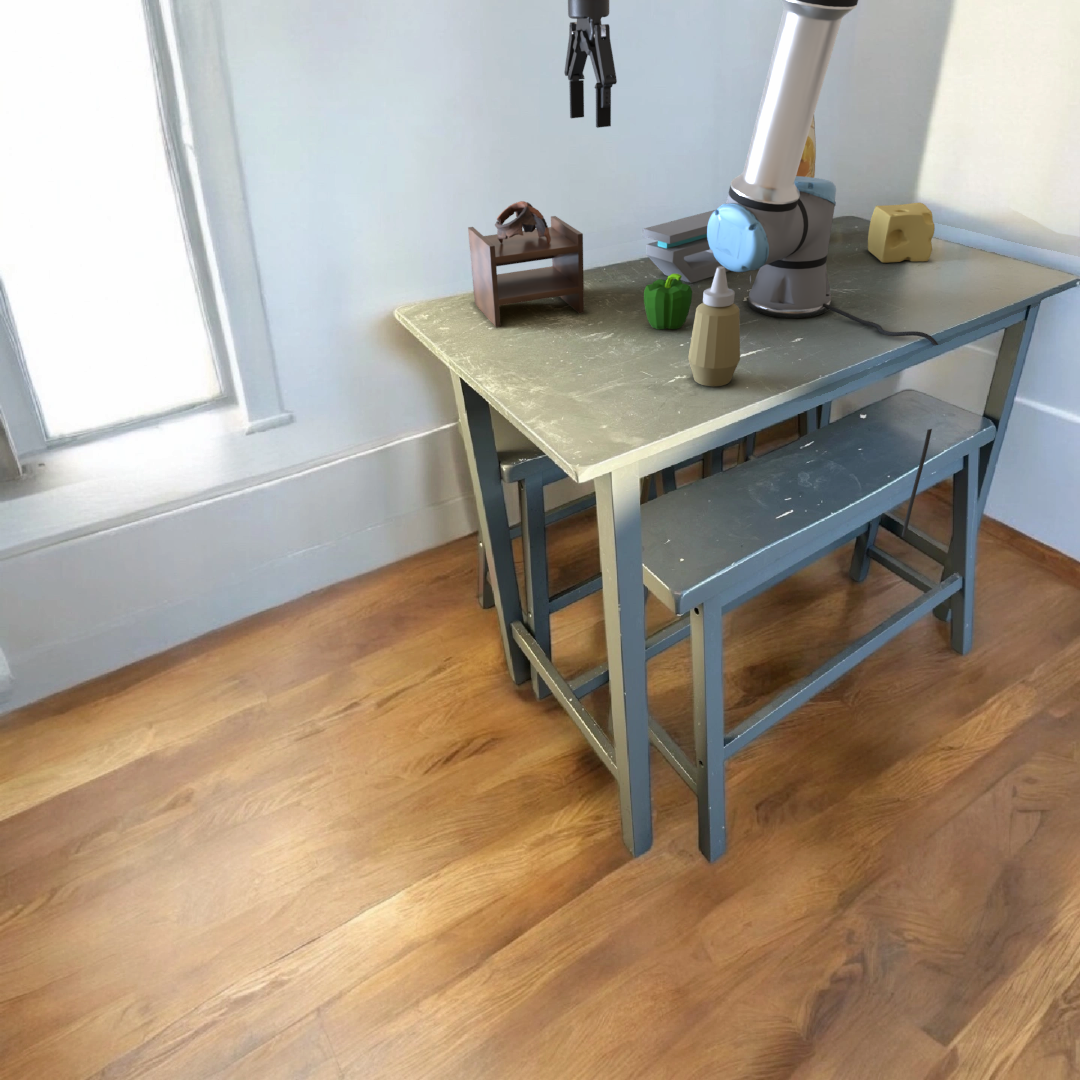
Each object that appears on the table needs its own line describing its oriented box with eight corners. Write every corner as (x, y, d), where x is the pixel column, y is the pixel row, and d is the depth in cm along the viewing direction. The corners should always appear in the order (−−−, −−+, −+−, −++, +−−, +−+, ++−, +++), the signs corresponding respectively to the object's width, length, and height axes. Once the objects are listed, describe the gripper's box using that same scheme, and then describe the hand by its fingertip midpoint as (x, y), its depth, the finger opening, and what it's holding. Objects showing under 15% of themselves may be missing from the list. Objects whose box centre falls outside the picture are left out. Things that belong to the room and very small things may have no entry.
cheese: (929, 262, 182) (940, 213, 177) (879, 264, 183) (887, 215, 177) (912, 248, 191) (922, 201, 185) (864, 250, 191) (872, 203, 186)
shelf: (584, 312, 166) (582, 233, 157) (495, 327, 161) (489, 246, 153) (557, 290, 177) (555, 215, 169) (474, 303, 173) (467, 227, 165)
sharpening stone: (723, 257, 192) (727, 206, 186) (750, 264, 186) (755, 212, 180) (641, 281, 180) (642, 228, 174) (667, 290, 174) (670, 235, 168)
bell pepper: (635, 323, 160) (636, 269, 154) (673, 315, 162) (676, 262, 156) (658, 337, 153) (660, 282, 148) (697, 329, 156) (700, 274, 150)
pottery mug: (554, 250, 157) (531, 213, 152) (510, 272, 161) (487, 237, 156) (555, 217, 165) (534, 181, 160) (514, 239, 169) (491, 204, 164)
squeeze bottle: (726, 394, 132) (736, 278, 122) (678, 384, 136) (684, 271, 126) (745, 375, 138) (756, 263, 128) (698, 366, 142) (706, 257, 131)
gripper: (545, -8, 162) (549, 115, 174) (595, -6, 142) (596, 132, 154) (582, -10, 164) (584, 112, 176) (636, -9, 144) (634, 128, 156)
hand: (589, 122), depth 165 cm, fingers open, 13 cm apart
